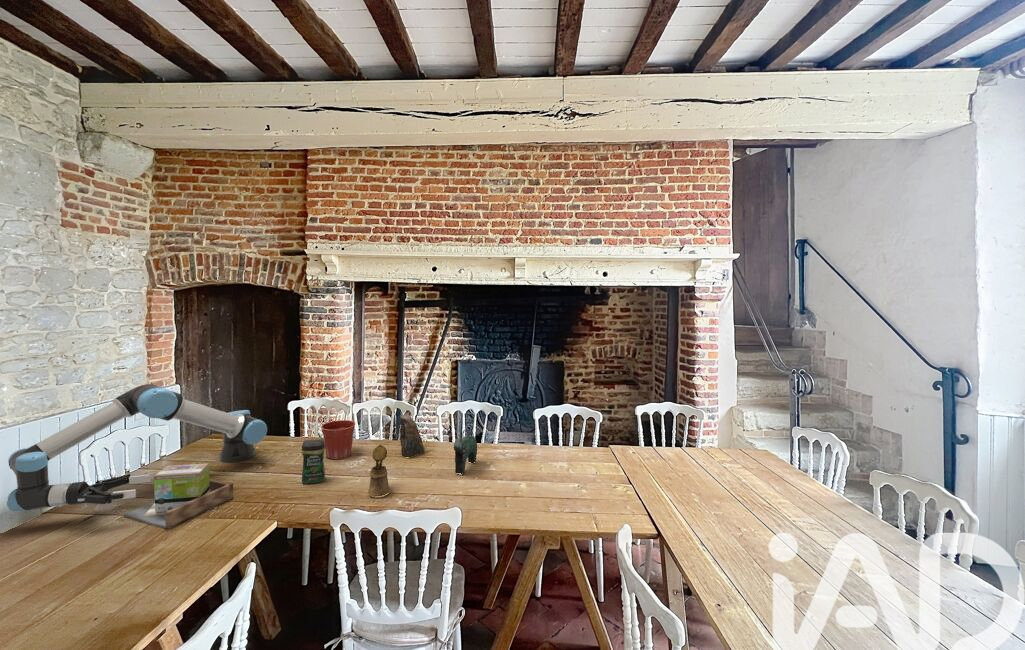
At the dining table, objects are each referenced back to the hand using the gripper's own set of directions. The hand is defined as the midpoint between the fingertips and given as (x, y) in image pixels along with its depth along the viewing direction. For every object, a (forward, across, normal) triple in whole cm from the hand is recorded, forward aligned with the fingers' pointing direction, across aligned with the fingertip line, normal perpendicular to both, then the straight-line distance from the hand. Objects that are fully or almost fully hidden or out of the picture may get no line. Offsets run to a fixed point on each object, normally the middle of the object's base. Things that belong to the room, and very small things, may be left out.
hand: (143, 485), depth 166 cm
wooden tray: (+11, 0, -11) cm, 16 cm away
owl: (+104, -28, -11) cm, 108 cm away
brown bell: (+85, +10, -11) cm, 86 cm away
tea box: (+12, 0, -10) cm, 16 cm away
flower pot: (+68, -37, -11) cm, 79 cm away
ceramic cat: (+126, -1, -11) cm, 126 cm away
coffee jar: (+58, -10, -11) cm, 60 cm away
